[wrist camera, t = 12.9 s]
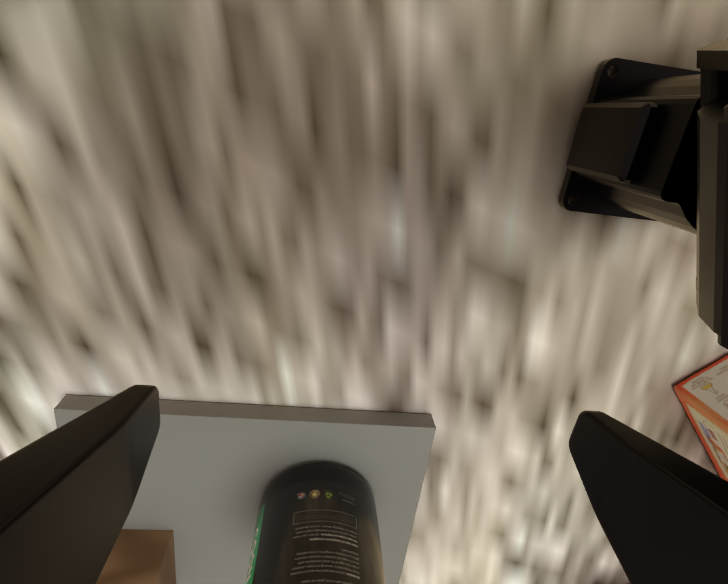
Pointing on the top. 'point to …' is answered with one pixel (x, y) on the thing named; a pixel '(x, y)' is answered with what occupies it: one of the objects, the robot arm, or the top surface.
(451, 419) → the top surface
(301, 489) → the supplement bottle
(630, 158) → the robot arm
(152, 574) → the walnut block
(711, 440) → the cracker box
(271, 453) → the gray board
